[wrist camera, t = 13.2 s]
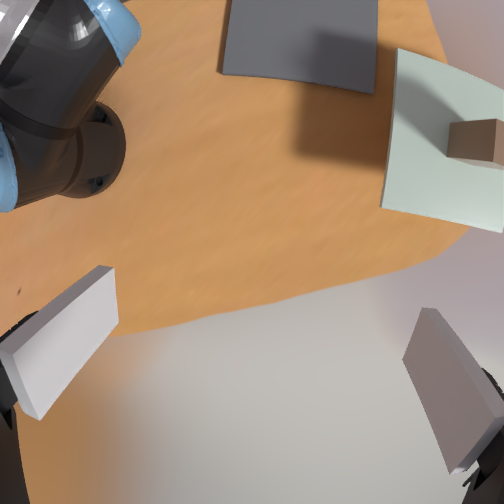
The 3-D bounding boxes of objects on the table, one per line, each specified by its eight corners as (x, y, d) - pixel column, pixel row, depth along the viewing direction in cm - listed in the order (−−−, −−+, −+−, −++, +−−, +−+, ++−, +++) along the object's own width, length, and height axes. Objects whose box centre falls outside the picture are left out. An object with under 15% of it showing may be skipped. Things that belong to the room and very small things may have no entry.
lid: (379, 206, 32) (414, 227, 23) (395, 50, 26) (432, 20, 17) (498, 231, 31) (545, 255, 22) (514, 98, 26) (563, 92, 16)
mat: (223, 75, 38) (222, 73, 37) (240, -39, 31) (239, -42, 30) (371, 94, 37) (373, 93, 36) (375, -21, 30) (377, -24, 29)
